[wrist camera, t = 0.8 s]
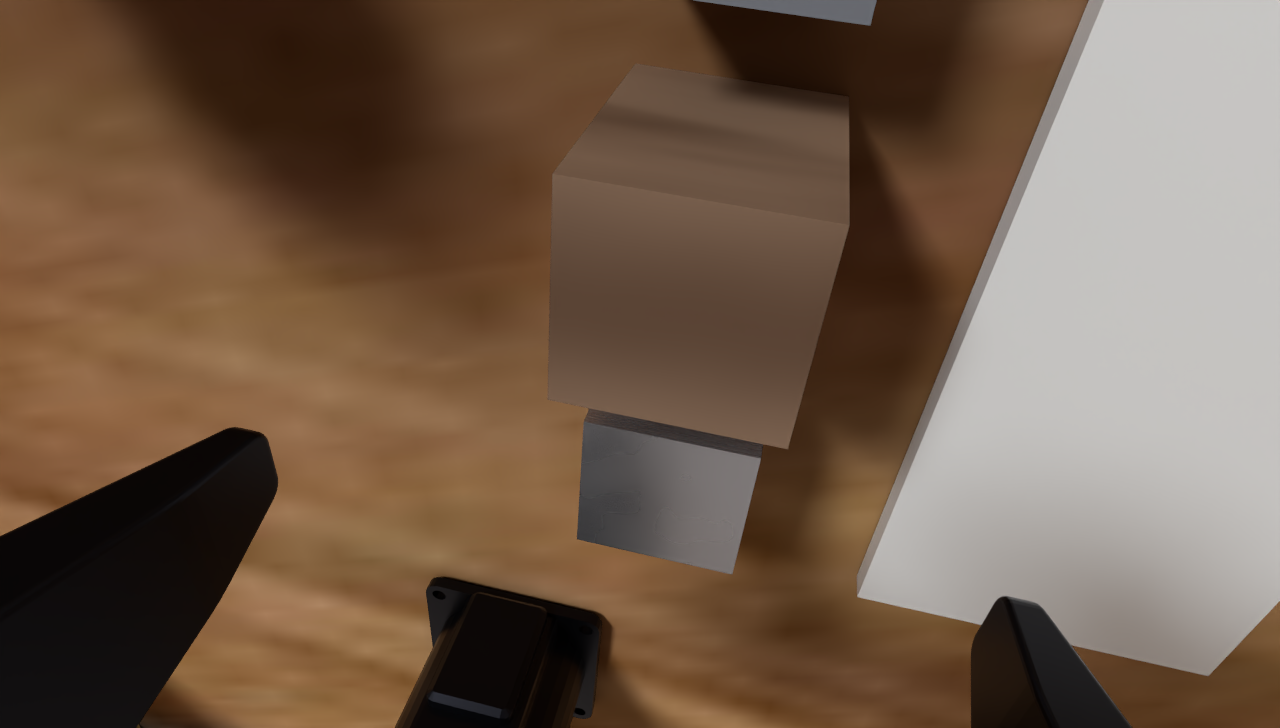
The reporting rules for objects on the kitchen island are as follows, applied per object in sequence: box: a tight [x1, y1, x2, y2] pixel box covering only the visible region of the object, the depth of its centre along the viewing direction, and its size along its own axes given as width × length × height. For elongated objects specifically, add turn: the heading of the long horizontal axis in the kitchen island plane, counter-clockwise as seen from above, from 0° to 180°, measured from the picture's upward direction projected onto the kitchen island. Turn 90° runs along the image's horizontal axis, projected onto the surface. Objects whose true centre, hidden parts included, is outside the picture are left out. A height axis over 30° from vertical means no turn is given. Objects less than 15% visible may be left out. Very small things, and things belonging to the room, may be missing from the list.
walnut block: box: [548, 64, 850, 449], centre depth 15 cm, size 4×4×6 cm
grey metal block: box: [577, 408, 763, 574], centre depth 20 cm, size 4×4×4 cm
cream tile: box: [857, 0, 1280, 676], centre depth 17 cm, size 20×10×1 cm, turn 175°
